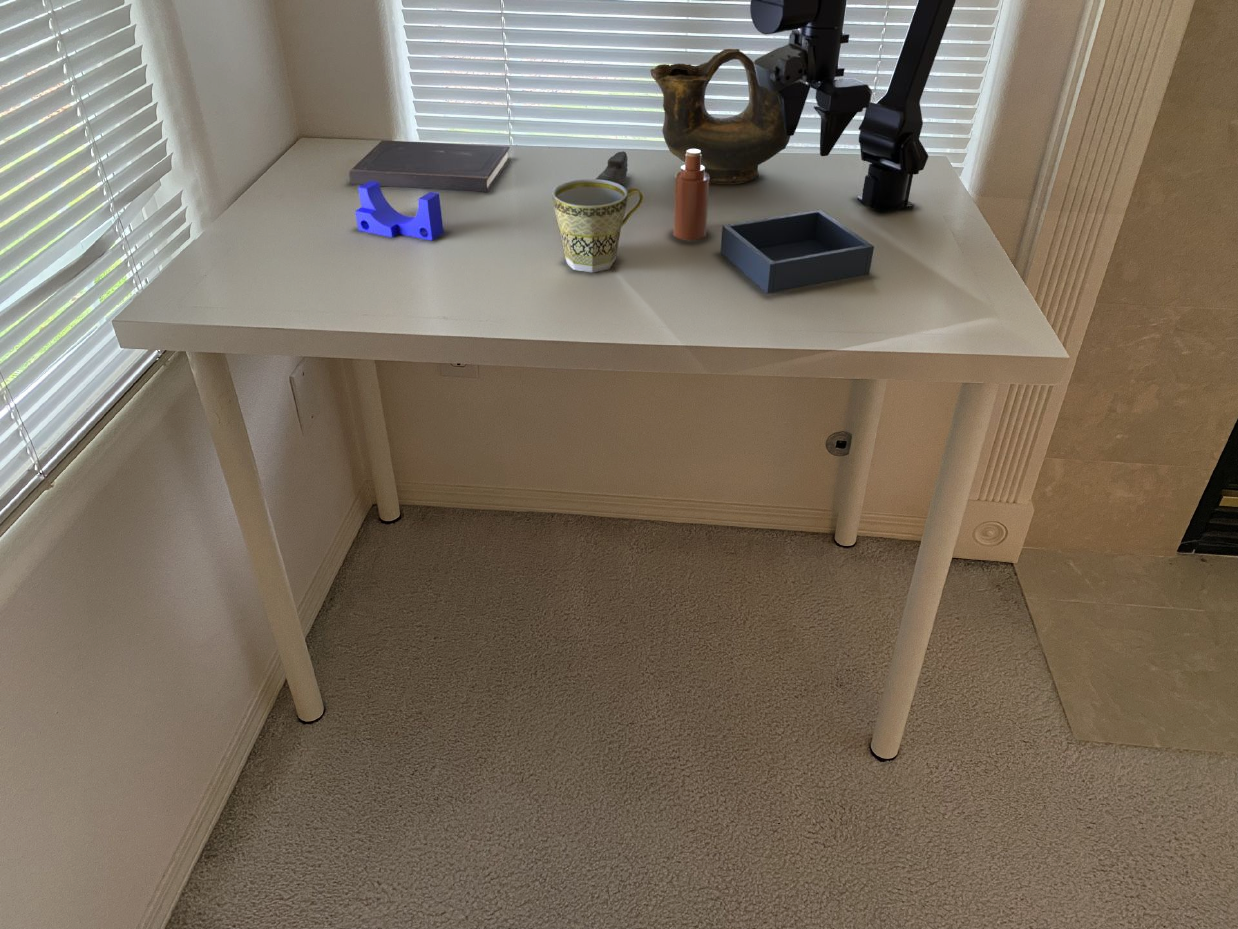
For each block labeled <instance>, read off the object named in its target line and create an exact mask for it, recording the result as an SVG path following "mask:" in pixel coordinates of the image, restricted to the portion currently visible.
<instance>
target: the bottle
mask: <svg viewBox="0 0 1238 929" xmlns="http://www.w3.org/2000/svg"><path fill="white" fill-rule="evenodd" d="M674 177H675V178H674V182H675V183H674V201H673V202H674V203H673V204H674V205H673V228H672V231H673V232H672V235H673V236H674V237H676V238H678V239H680V240H684V241H697V240H701V239H704V238H705V237H706V236H707V226H708V208H709V195H710V194H709V191H710V183H709V178H710V176H709V175H708V174H707V173H705V167H704V166H703V165H701V151H700V150H698V149H688V150H687V152H686V158H685V162H684V164H682V165H681V166H680V171H678V172H676V173H675V176H674Z"/></svg>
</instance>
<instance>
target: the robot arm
mask: <svg viewBox="0 0 1238 929" xmlns="http://www.w3.org/2000/svg"><path fill="white" fill-rule="evenodd" d="M956 1H957V0H917V3H916V5H915V8H914V11H913V14H912V17H911V20H910V23H909V26H908V29H907V31H906V34H905V37H904V41H903V44H902V46H901V48H900V52H899V55H898V58H897V61H896V64H895V67H894V70H893V73H892V75H891V78H890V82H889V84H888V87H887V90H886V92H885V94H884V95H883V96H881V98H879V99H878V100H877V101H876V102H873V101H872V96H873V95H872V94H873V90H872V89H871V88H870V86H869V84H868V83H865V82H863V81H861V80H859V79H856V78H854V77H848V78H840V77H845V76H844V75H845V67H843V66H842V65H839V63H840V58H841V57H840V56H841V49H842V44H849V40H850V33H847V32H844V28H845V19H846V13H847V12H846V11H847V6H848V0H750V4H749V12H750V18H751V21H752V24H753V26H754V28H755V29H756V30H757V31H758V33H760V34H762V35H774V34H779V33H784V32H789V31H791V32H790V33H789V36H788V42H787V44H785V45H783V46H781V47H777V48H775V49H773V50H771V51H769V52H768V53H766V54H763V55H761V56H760V57H758V58H756V59H755V60H754V61H753V62H754V66H755V71H756V75H757V79H758V84H759V86H761V87H762V86H763V87H765V88H767V89H768V91H770V92H776V93H777V95H778V98H779V102H780V106H781V111H782V116H783V122H784V127H785V133H786V135H787V136H790V137H793V136H794V135H795V133H796V131H797V129H798V125H799V123H800V119H801V117H802V114H803V112H804V111H803V110H804V109H805V105H806V102H807V99H808V95H809V94H810V90H811V89H813V90H815V101H816V104H817V105H815V106H813V109H814V110H815V112H816V113H817V114H818V116H819V117H820V133H819V156H821V157H828V156H829V155H830V154H831V152H832V150H833V148H835V146H836V144H837V143H838V141H839V139H840V138H841V136H842V135H843V133H844V131H845V130H846V129H847V127H848V126H849V124H850V123H851V122H852V121H853V119H854V118H855V117H856V116H857V114H858V113H863V111H864V109H865V111H864V115H863V119H862V121H861V123H860V125H859V126H858V130H859V134H858V143H859V149H860V158H861V161H862V162H866V163H869V164H868V170H867V174H866V175H865V176H864V182H863V187H862V194H861V195H858V196H857V201H859V202H861V203H862V204H863V205H865V206H867V207H869V208H870V209H872V210H873V211H875V212H877V213H878V214H884V213H892V212H896V211H897V212H898V211H902V210H909V209H913V208H914V207H915V203H913V202H911V201H909V198H910V194H911V188H912V183H913V178H914V175H919V174H920V171H923V170H925V166H926V165H927V162H928V159H929V154H928V153H927V150H926V148H925V147H924V145H923V143H922V141H921V140H920V137H921V133H922V129H923V125H924V121H923V115H922V109H921V99H922V96H923V93H924V90H925V88H926V86H927V82H928V79H929V76H930V73H931V71H932V69H933V65H934V62H935V59H936V57H937V54H938V52H939V48H940V47H941V43H942V40H943V37H944V34H945V32H946V30H947V26H948V24H949V21H950V18H951V15H952V12H953V9H954V7H955V4H956ZM836 78H838V79H836ZM839 78H840V79H839Z"/></svg>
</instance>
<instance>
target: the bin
mask: <svg viewBox="0 0 1238 929" xmlns="http://www.w3.org/2000/svg"><path fill="white" fill-rule="evenodd" d="M874 249H875V246H874V245H873V244H871V243H870V242H868V240H866V239H864V238H863V237H862V236H860V235H858V234H857V233H856V232H854V231H853V230H851V229H849V228H848V227H847V226H845V225H844V224H842V223H841V222H839V221H838V220H836V219H834V218H833V217H832V216H830V215H828V214H827V213H826V212H824V211H823V210H821V209H816V210H810V211H804V212H803V211H802V212H798V213H797V212H796V213H791V214H785V215H778V216H774V217H773V216H772V217H767V218H760V219H753V220H748V221H742V222H735V223H731V224H722V226H721V240H720V254H721V255H722V256H723V257H725V258H726V259H727V260H728V261H729V262H730V263H731V264H732V265H734V266H735V267H736V268H737V269H738V270H739V271H741V273H743V274H744V275H745V276H747V278H749V280H751V281H752V282H753V283H755V285H757V286H758V287H759V288H760V289H761V290H763V292H764V293H766V294H767V295H768V294H772V293H778V292H784V291H788V290H795V289H800V288H805V287H810V286H816V285H821V284H826V283H831V282H837V281H842V280H847V279H853V278H857V277H862V276H863V277H864V276H868V275H870V273H871V272H870V271H871V266H872V261H873V256H874Z"/></svg>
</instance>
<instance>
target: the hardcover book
mask: <svg viewBox="0 0 1238 929" xmlns="http://www.w3.org/2000/svg"><path fill="white" fill-rule="evenodd" d="M509 150H510V146H506V145H505V146H504V145H503V146H502V145H485V144H484V145H483V144H464V143H463V144H462V143H447V142H446V143H443V142H426V141H425V142H424V141H423V142H422V141H407V140H405V141H403V140H384V139H383V140H381V141H380V142H378V143H377V145H375V146H374V147H373V148H372V149H371V150H370V151H369V152H368V153H367V154H366V155H365V156H364V157H363V158H361V159H360V160H359V161H358V162H357V163H356V164H355V165H354V166H353V167H352V168H351V169H350V170H349V173H348V177H349V183H350V184H351V185H355V186H356V185H357V186H358V185H360V186H362V185H364V184H366V183H367V182H369V181H375V182H379V184H380V187H393V188H394V187H395V188H410V189H411V188H413V189H431V190H447V191H448V190H449V191H465V192H466V191H467V192H484V193H489V191H490V190H491V189H492V187H493V186H494V184H495V183H496V181H497V180H498V178H499V177H500V175H501V174H502V173H503V171H504V169H505V168H506V166H507V165H508V163H509V162H510V161H511V157H509V154H508V153H509Z"/></svg>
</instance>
